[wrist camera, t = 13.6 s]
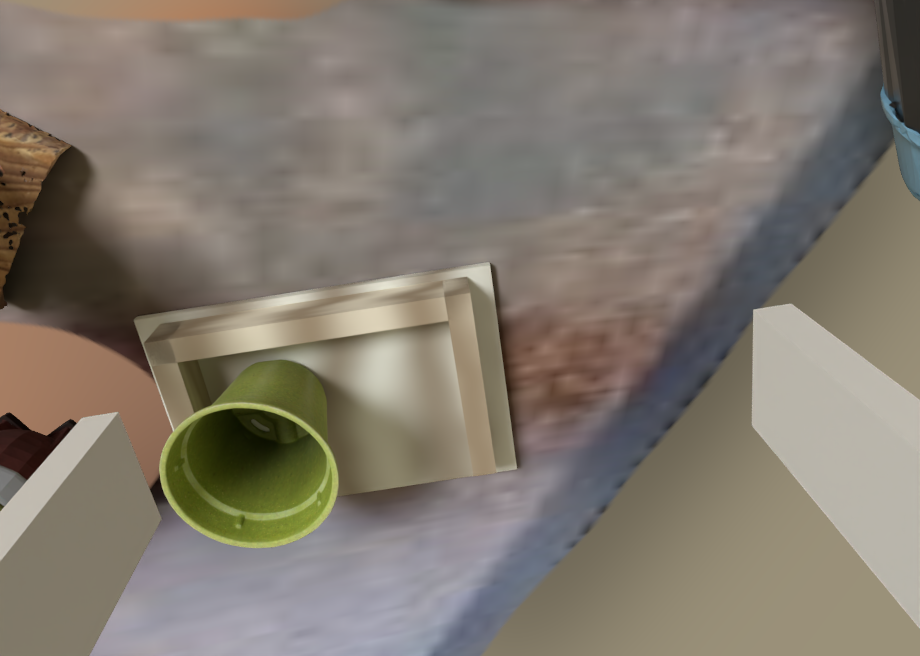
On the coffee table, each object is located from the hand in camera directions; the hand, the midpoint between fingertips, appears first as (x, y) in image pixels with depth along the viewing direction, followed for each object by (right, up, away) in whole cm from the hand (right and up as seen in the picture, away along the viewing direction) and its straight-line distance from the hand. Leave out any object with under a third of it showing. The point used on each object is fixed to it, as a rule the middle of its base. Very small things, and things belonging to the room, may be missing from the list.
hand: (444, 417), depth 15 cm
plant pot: (-11, -3, +31) cm, 33 cm away
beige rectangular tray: (-8, -3, +32) cm, 33 cm away
